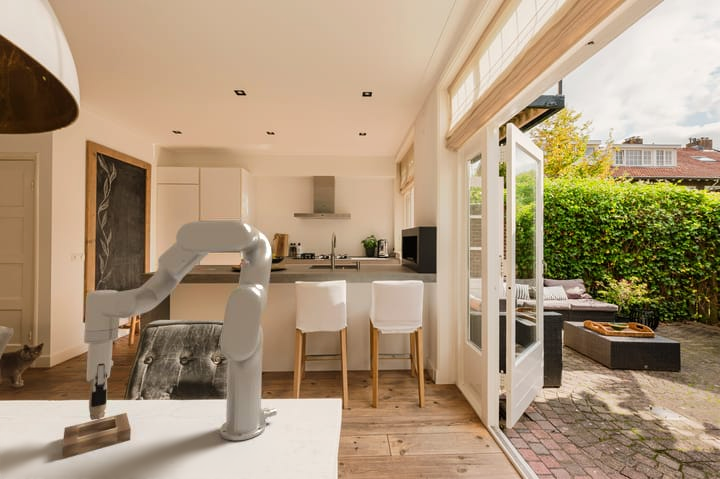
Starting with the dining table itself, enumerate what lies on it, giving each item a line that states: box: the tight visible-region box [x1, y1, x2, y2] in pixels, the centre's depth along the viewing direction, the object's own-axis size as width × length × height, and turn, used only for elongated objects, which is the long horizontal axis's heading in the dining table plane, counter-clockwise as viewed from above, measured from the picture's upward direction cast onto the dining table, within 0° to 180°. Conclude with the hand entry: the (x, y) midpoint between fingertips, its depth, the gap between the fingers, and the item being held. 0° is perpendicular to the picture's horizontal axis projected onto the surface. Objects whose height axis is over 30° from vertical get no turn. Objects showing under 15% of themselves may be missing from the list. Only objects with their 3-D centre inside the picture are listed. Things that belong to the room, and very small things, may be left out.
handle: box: [85, 360, 114, 421], centre depth 93 cm, size 5×6×15 cm
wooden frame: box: [61, 412, 132, 460], centre depth 92 cm, size 14×12×3 cm
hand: (98, 401), depth 93 cm, fingers closed on handle, 4 cm apart
